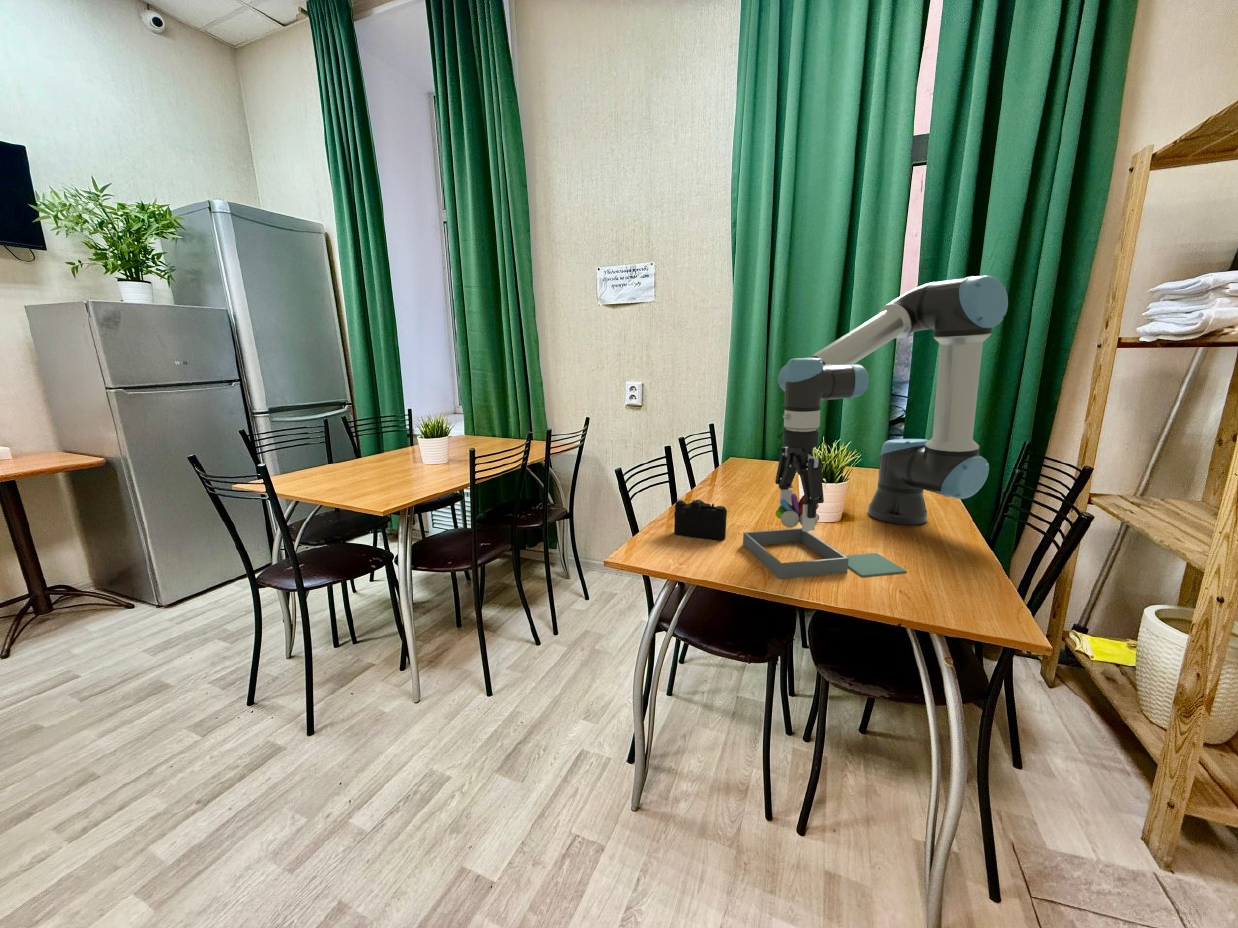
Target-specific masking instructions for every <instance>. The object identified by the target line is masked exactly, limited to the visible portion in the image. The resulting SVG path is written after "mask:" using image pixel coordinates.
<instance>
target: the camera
mask: <svg viewBox="0 0 1238 928" xmlns="http://www.w3.org/2000/svg"><path fill="white" fill-rule="evenodd" d="M673 514H674V517H673V518H674V519H673V520H674V524H673V525H674V526H673V527H674V528H673V529H674V530H673V532H674V535H675V536H678V537H679V536H680V537H686V538H692V539H693V538H694V539H700V540H708V541H716V542H722V541H723V542H724V541H725V539H726V538H727V537H726V536H727V514H728V509H727V508H726V506H722V505H718V506H715V503H711V504H710V503H705V502H704V501H702V500H701V499H693V500H692V501H691V502H689V503H686V501H684V500H683V499H678V500H677V501H675V505H674V513H673Z"/></svg>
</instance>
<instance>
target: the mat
mask: <svg viewBox="0 0 1238 928" xmlns="http://www.w3.org/2000/svg"><path fill="white" fill-rule="evenodd" d="M845 556H846V557H848V558H849V561H848V569H850V570H851V571H853V572H854V573H855V574H858V575H859V576H860V577H861V578H865V577H874V576H875V577H877V576H883V575H884V576H885V575H894V574H903V573H904V574H905V573H907V570H906V569H904V568H902V567H901V566H899V564H898V565H897V564H896V563H894V562H893V561H891V560H890V559H888V558H886V557H885V556H883V555H880V554H879V553H877V552H872V553H871V552H870V553H869V552H868V553H859V554H851V555H849V554H848V555H845Z"/></svg>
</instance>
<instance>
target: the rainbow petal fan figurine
mask: <svg viewBox="0 0 1238 928" xmlns="http://www.w3.org/2000/svg"><path fill="white" fill-rule="evenodd" d="M791 501H792V505H790V504H789V503H788V502H787V501H785V500H784V499H781V500H780V499H779V506H778V507H777V510H776V511H775V517H776V518H777V519H780V523H781V524H782V525H783V526H785V527H786V528H788V529H793V528H794V527H795V528H796V527H797V525H798V524H800V526H802V517H803V502H805V501H806V500H805V496H804V495H802V497H801V498H800V499H798V497H797V494H796V493H792V495H791ZM780 503H781V504H782V505H780ZM818 509H819V503H818V504H817V507H816V511H817V510H818ZM819 520H820V515H819V514H818V513H816V517H815V526H816V525H817V524H818V521H819Z"/></svg>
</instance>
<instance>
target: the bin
mask: <svg viewBox="0 0 1238 928" xmlns="http://www.w3.org/2000/svg"><path fill="white" fill-rule="evenodd" d="M742 534H743V535H742V536H743V538H742V547H744V548H745V549H746V550H747V551H748V552H750V554H751V555H753V556H754V557H755V558H756V559H757V560H758V561H759V562H760V563H761V564H762V565H763V566H765V567H766V568H767V570H769V571H770V572H771V573H772V574H773V575H774V576H775V577H777V579H778V580H786V579H797V578H807V577H819V576H827V575H829V576H830V575H838V574H839V575H840V574H847V573H848V570H849V568H848V561H849V558H848V557H846V556H847V555H844V554H843V553H841V552H840V551H838V550H837V549H835V548H834V547H832V546H831V545H829V544H828V543H826V542H825V541H823V540H822V539H820V538H819V537H817V536H816V535H814V534H813V533H811V531H802V527H797V528H796V527H795V528H794V527H793V528H783V529H782V528H781V529H772V530H771V529H770V530H758V531H757V530H756V531H747V532H746V531H745V532H743V533H742ZM786 543H787V544H788V543H802V544H803V545H805V546H806V547H807V548H809V549H810V550H812V551H813V552H815V553H816V554H818V555H819V556H820V557H822V558H823V559H811V560H800V561H791V562H781V561H780V560H779V559H778V558H777V557H776V556H774V555H773V554H772V553H770V552H769V551H768V550H767V549H766V548H765V547H764V545H765V546H766V545H775V544H776V545H778V544H786Z"/></svg>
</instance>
